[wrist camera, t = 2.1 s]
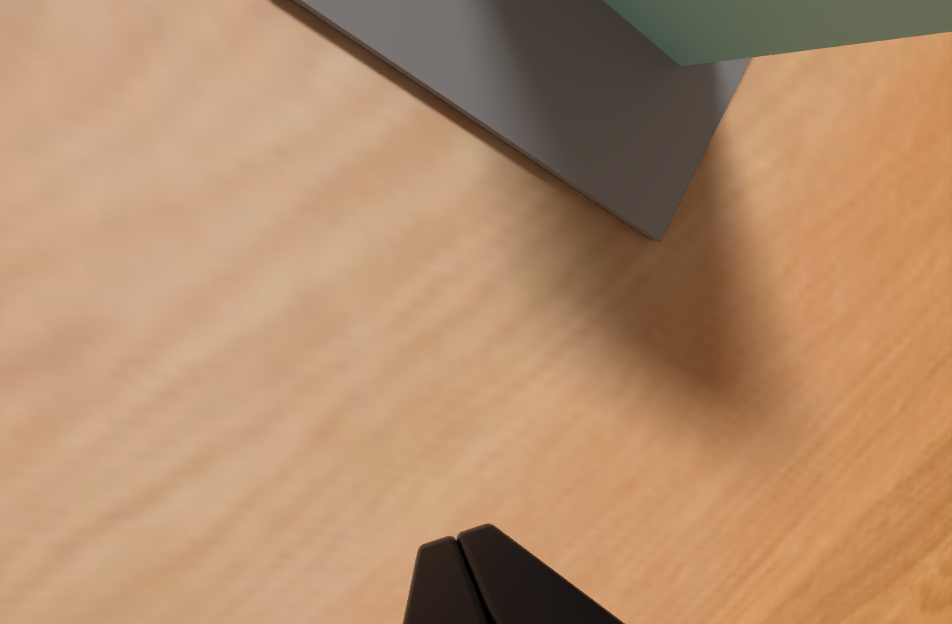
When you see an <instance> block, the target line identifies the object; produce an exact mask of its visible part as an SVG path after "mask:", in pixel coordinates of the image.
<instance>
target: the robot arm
mask: <svg viewBox="0 0 952 624" xmlns="http://www.w3.org/2000/svg"><path fill="white" fill-rule="evenodd" d="M403 624H625V623H623V622H622V621H621V620H619V619H618V618H617V617H615V616H614V615H613V614H611V613H610V612H609V611H607V610H606V609H605V608H603V607H602V606H601V605H599V604H598V603H597V602H595V601H594V600H593V599H591V598H590V597H589V596H587V595H586V594H585V593H583V592H582V591H581V590H579V589H578V588H577V587H575V586H574V585H573V584H571V583H570V582H569V581H567V580H566V579H565V578H563V577H562V576H561V575H559V574H558V573H557V572H555V571H554V570H553V569H551V568H550V567H549V566H547V565H546V564H545V563H543V562H542V561H541V560H539V559H538V558H537V557H535V556H534V555H533V554H531V553H530V552H529V551H527V550H526V549H525V548H523V547H522V546H521V545H519V544H518V543H517V542H515V541H514V540H513V539H511V538H510V537H509V536H507V535H506V534H505V533H503V532H502V531H501V530H499V529H498V528H497V527H495V526H494V525H492V524H484V525H480V526H477V527H474V528H471V529H468V530H465V531H462V532H460V533H459V534H458V536H457V541H456V539H455V538H454V537H452V536H447V537H444V538H441V539H438V540H435V541H432V542H429V543H426V544H423V545H421V546H420V547H419V549H418V552H417V556H416V561H415V566H414V571H413V576H412V581H411V586H410V591H409V596H408V600H407V605H406V610H405V615H404V620H403Z"/></svg>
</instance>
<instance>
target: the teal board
mask: <svg viewBox="0 0 952 624" xmlns="http://www.w3.org/2000/svg"><path fill="white" fill-rule="evenodd" d="M603 1H604V2H605V3H606V4H608V5H609V6H610V7H611V8H612V9H614V10H615V11H616V12H617V13H618V14H619V15H621V16H622V17H623V18H624V19H625V20H627V21H628V22H629V23H630V24H631V25H632V26H634V27H635V28H636V29H637V30H638V31H640V32H641V33H642V34H643V35H644V36H645V37H647V38H648V39H649V40H650V41H651V42H653V43H654V44H655V45H656V46H657V47H658V48H660V49H661V50H662V51H663V52H664V53H666V54H667V55H668V56H669V57H670V58H671V59H673V60H674V61H675V62H676V63H677V64H679V65H680V66H689V65H696V64H704V63H712V62H720V61H727V60H735V59H743V58H751V57H758V56H766V55H774V54H782V53H789V52H797V51H805V50H812V49H820V48H828V47H836V46H843V45H851V44H859V43H867V42H874V41H882V40H890V39H898V38H905V37H913V36H921V35H929V34H936V33H944V32H952V0H603Z"/></svg>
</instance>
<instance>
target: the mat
mask: <svg viewBox="0 0 952 624" xmlns="http://www.w3.org/2000/svg"><path fill="white" fill-rule="evenodd" d="M293 1H294V2H296V3H297V4H299V5H300V6H302V7H303V8H305V9H306V10H308V11H309V12H311V13H312V14H314V15H315V16H317V17H318V18H320V19H321V20H323V21H324V22H326V23H327V24H329V25H330V26H332V27H333V28H335V29H336V30H338V31H339V32H341V33H342V34H344V35H345V36H347V37H348V38H350V39H351V40H353V41H354V42H356V43H357V44H359V45H360V46H362V47H363V48H365V49H366V50H368V51H369V52H371V53H372V54H374V55H375V56H377V57H378V58H380V59H381V60H383V61H384V62H386V63H387V64H389V65H390V66H392V67H393V68H395V69H396V70H398V71H399V72H401V73H402V74H404V75H405V76H407V77H408V78H410V79H411V80H413V81H414V82H416V83H417V84H419V85H420V86H422V87H423V88H425V89H426V90H428V91H429V92H431V93H432V94H434V95H435V96H437V97H438V98H440V99H441V100H443V101H444V102H446V103H447V104H449V105H450V106H451V107H453V108H454V109H456V110H457V111H459V112H460V113H462V114H463V115H465V116H466V117H468V118H469V119H471V120H472V121H474V122H475V123H477V124H478V125H480V126H481V127H483V128H484V129H486V130H487V131H489V132H490V133H492V134H493V135H495V136H496V137H498V138H499V139H501V140H502V141H504V142H505V143H507V144H508V145H510V146H511V147H513V148H514V149H516V150H517V151H519V152H520V153H522V154H523V155H525V156H526V157H528V158H529V159H531V160H532V161H534V162H535V163H537V164H538V165H540V166H541V167H543V168H544V169H546V170H547V171H549V172H550V173H552V174H553V175H555V176H556V177H558V178H559V179H561V180H562V181H564V182H565V183H567V184H568V185H570V186H571V187H573V188H574V189H576V190H577V191H579V192H580V193H582V194H583V195H585V196H586V197H588V198H589V199H591V200H592V201H594V202H595V203H597V204H598V205H600V206H601V207H603V208H604V209H606V210H607V211H609V212H610V213H612V214H613V215H615V216H616V217H618V218H619V219H621V220H622V221H624V222H625V223H627V224H628V225H630V226H631V227H633V228H634V229H636V230H637V231H639V232H640V233H642V234H643V235H645V236H646V237H648V238H649V239H651V240H655V241H661V239H662V237H663V235H664V233H665V231H666V229H667V227H668V225H669V223H670V221H671V219H672V217H673V215H674V213H675V211H676V209H677V207H678V205H679V203H680V201H681V199H682V197H683V195H684V193H685V191H686V189H687V187H688V185H689V183H690V181H691V179H692V177H693V175H694V173H695V171H696V169H697V167H698V165H699V163H700V160H701V158H702V156H703V154H704V152H705V150H706V148H707V146H708V144H709V142H710V140H711V138H712V136H713V134H714V132H715V130H716V128H717V126H718V124H719V122H720V120H721V118H722V116H723V114H724V112H725V110H726V108H727V106H728V104H729V102H730V100H731V98H732V96H733V94H734V92H735V90H736V88H737V86H738V84H739V82H740V80H741V78H742V76H743V74H744V72H745V70H746V68H747V66H748V64H749V62H750V60H751V58H752V57H751V58H743V59H735V60H727V61H720V62H712V63H704V64H696V65H689V66H680V65H679V64H677V63H676V62H675V61H674V60H673V59H671V58H670V57H669V56H668V55H667V54H666V53H664V52H663V51H662V50H661V49H660V48H658V47H657V46H656V45H655V44H654V43H653V42H651V41H650V40H649V39H648V38H647V37H645V36H644V35H643V34H642V33H641V32H640V31H638V30H637V29H636V28H635V27H634V26H632V25H631V24H630V23H629V22H628V21H627V20H625V19H624V18H623V17H622V16H621V15H619V14H618V13H617V12H616V11H615V10H614V9H612V8H611V7H610V6H609V5H608V4H606V3H605V2H604V1H603V0H293Z"/></svg>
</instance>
